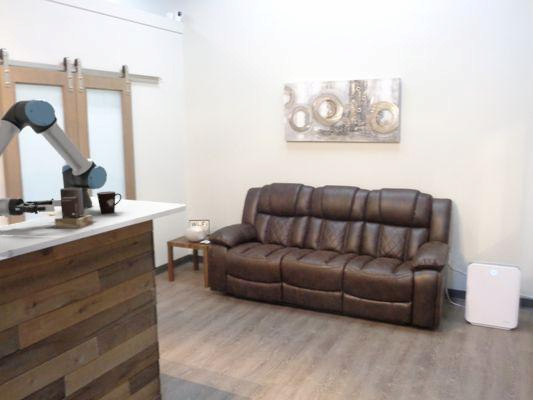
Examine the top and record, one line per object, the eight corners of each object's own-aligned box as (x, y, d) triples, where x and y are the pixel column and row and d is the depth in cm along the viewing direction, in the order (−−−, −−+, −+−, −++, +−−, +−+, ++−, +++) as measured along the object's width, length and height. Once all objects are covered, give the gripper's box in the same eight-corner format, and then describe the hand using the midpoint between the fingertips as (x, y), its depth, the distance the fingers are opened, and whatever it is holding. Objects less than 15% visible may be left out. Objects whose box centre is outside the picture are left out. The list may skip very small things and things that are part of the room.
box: (62, 226, 213) (59, 198, 212) (67, 224, 218) (64, 196, 216) (76, 225, 213) (73, 197, 211) (80, 223, 217) (78, 196, 216)
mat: (67, 222, 225) (67, 221, 225) (97, 222, 222) (97, 221, 222) (44, 229, 209) (44, 228, 209) (76, 230, 206) (76, 229, 206)
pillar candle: (61, 220, 230) (58, 187, 228) (63, 216, 240) (61, 185, 237) (83, 218, 233) (81, 186, 231) (85, 215, 242) (82, 184, 240)
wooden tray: (69, 222, 221) (68, 214, 221) (93, 222, 219) (92, 214, 218) (55, 227, 212) (54, 219, 211) (80, 227, 209) (79, 219, 209)
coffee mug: (99, 215, 240) (97, 194, 239) (98, 212, 248) (96, 192, 247) (124, 212, 245) (122, 192, 243) (122, 210, 252) (120, 190, 251)
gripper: (27, 210, 228) (73, 209, 227) (-4, 221, 203) (48, 219, 203) (25, 194, 227) (71, 192, 226) (-6, 202, 202) (46, 201, 201)
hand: (61, 205), depth 214 cm, fingers open, 13 cm apart
